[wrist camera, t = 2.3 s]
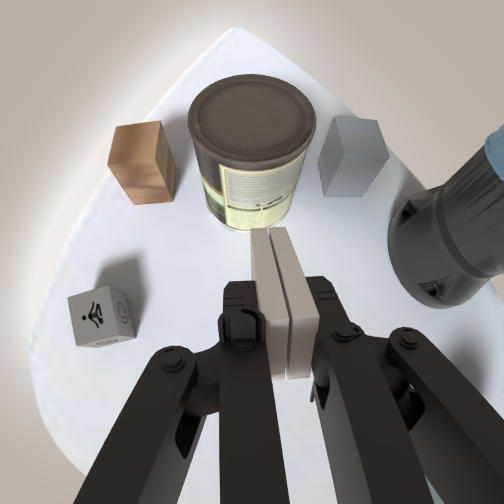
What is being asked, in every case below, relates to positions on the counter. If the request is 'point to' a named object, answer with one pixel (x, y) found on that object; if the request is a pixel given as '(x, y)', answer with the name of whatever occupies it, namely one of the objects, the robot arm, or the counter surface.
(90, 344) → the dice cube
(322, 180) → the slate-grey block
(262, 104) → the coffee can
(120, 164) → the walnut block
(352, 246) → the counter surface
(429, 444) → the robot arm
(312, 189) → the counter surface
